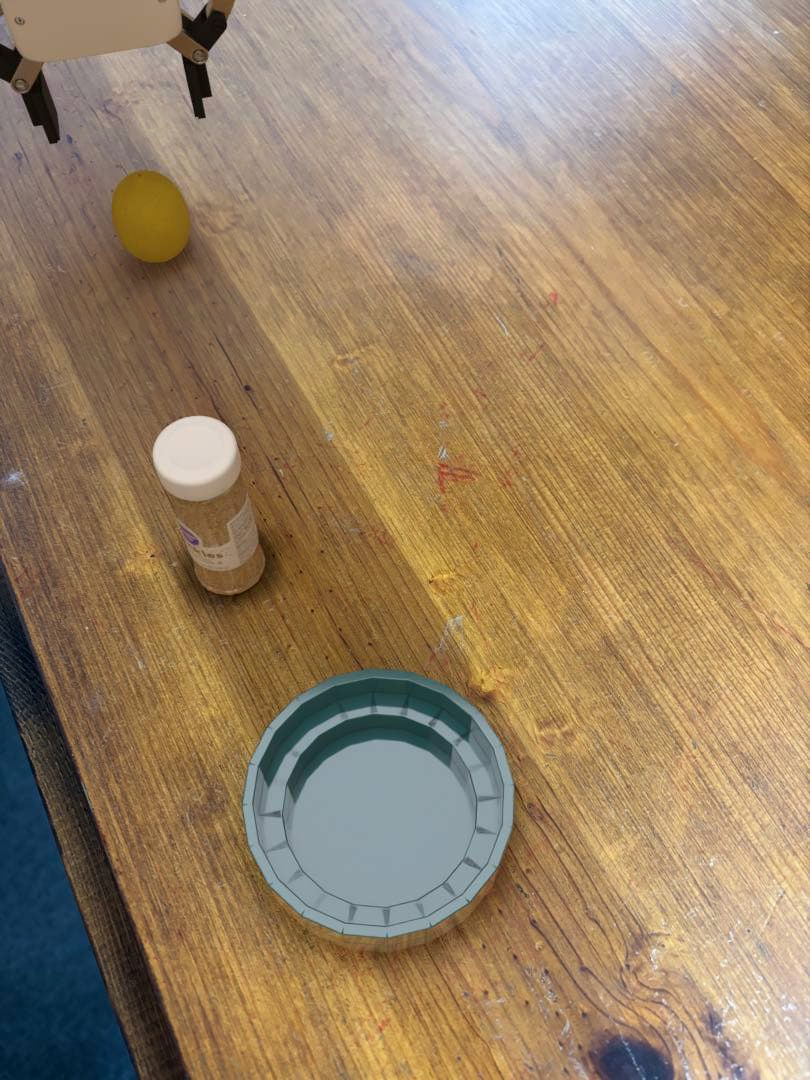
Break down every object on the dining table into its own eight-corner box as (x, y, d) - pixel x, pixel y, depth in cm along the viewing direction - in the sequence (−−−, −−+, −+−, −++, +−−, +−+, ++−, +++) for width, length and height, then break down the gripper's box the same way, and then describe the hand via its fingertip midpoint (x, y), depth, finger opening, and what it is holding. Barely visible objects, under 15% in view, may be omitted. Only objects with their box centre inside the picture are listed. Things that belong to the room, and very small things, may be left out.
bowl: (278, 982, 56) (267, 968, 52) (237, 730, 63) (224, 699, 58) (537, 917, 57) (547, 899, 53) (470, 678, 64) (474, 644, 60)
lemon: (167, 295, 80) (144, 214, 73) (111, 265, 81) (83, 183, 74) (213, 249, 82) (194, 166, 75) (157, 221, 83) (134, 137, 76)
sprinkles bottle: (182, 580, 68) (133, 462, 56) (220, 525, 70) (180, 400, 58) (243, 609, 67) (207, 495, 55) (280, 552, 69) (252, 431, 57)
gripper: (200, -214, 58) (246, 60, 73) (-122, -169, 57) (-8, 102, 72) (220, -139, 55) (264, 133, 70) (-123, -89, 53) (-3, 179, 68)
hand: (126, 117), depth 71 cm, fingers open, 9 cm apart
